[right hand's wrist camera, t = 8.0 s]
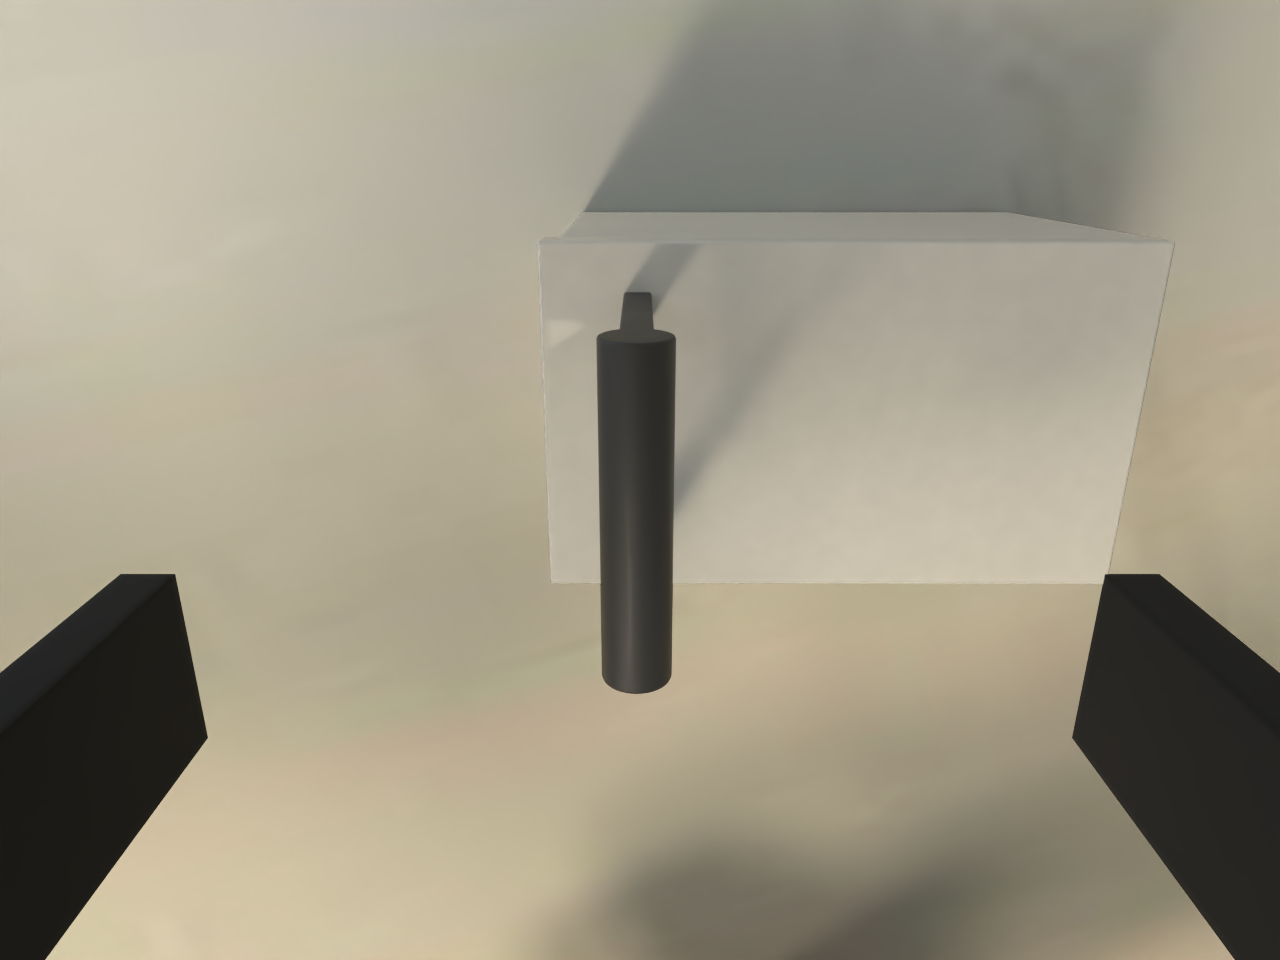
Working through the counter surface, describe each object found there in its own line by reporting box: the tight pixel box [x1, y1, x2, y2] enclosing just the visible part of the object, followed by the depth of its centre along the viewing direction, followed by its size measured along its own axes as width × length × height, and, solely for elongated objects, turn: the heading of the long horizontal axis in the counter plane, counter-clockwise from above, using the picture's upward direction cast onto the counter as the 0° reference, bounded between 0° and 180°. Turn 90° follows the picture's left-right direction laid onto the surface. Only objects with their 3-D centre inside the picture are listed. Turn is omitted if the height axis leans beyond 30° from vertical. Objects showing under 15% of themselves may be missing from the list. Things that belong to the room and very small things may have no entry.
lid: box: [537, 237, 1175, 694], centre depth 21 cm, size 16×10×8 cm, turn 90°
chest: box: [561, 212, 1147, 237], centre depth 29 cm, size 15×10×10 cm, turn 90°
